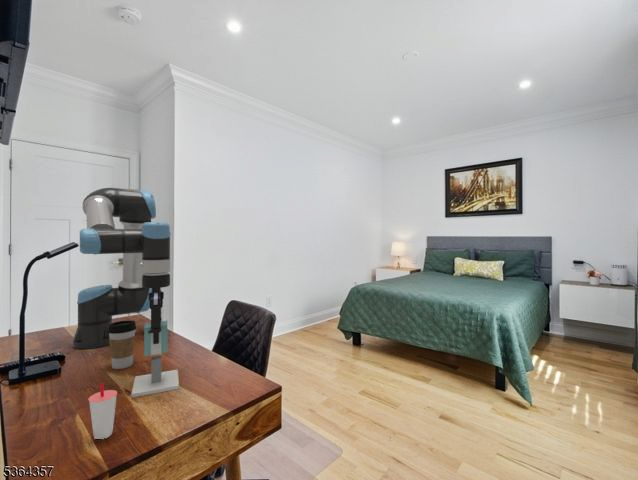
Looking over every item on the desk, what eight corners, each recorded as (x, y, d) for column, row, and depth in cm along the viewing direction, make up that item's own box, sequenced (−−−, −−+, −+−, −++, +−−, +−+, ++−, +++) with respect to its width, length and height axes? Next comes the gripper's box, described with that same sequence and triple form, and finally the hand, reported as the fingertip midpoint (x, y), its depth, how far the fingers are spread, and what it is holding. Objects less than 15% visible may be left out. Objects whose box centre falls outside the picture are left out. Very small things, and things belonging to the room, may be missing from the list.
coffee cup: (122, 371, 103) (122, 326, 103) (101, 369, 104) (101, 324, 104) (142, 361, 111) (142, 319, 111) (121, 359, 113) (121, 318, 112)
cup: (82, 439, 69) (82, 385, 69) (106, 425, 74) (106, 375, 74) (99, 445, 67) (99, 389, 67) (123, 430, 72) (122, 379, 72)
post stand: (135, 379, 97) (135, 354, 97) (177, 372, 103) (177, 348, 102) (131, 397, 86) (131, 369, 86) (178, 388, 92) (178, 361, 92)
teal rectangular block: (145, 349, 96) (145, 322, 96) (167, 346, 98) (167, 320, 98) (144, 356, 90) (144, 327, 90) (167, 352, 93) (167, 325, 93)
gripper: (144, 271, 101) (144, 342, 101) (139, 278, 84) (139, 364, 84) (169, 270, 104) (170, 339, 104) (170, 276, 87) (170, 359, 87)
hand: (156, 350), depth 94 cm, fingers closed on teal rectangular block, 6 cm apart
